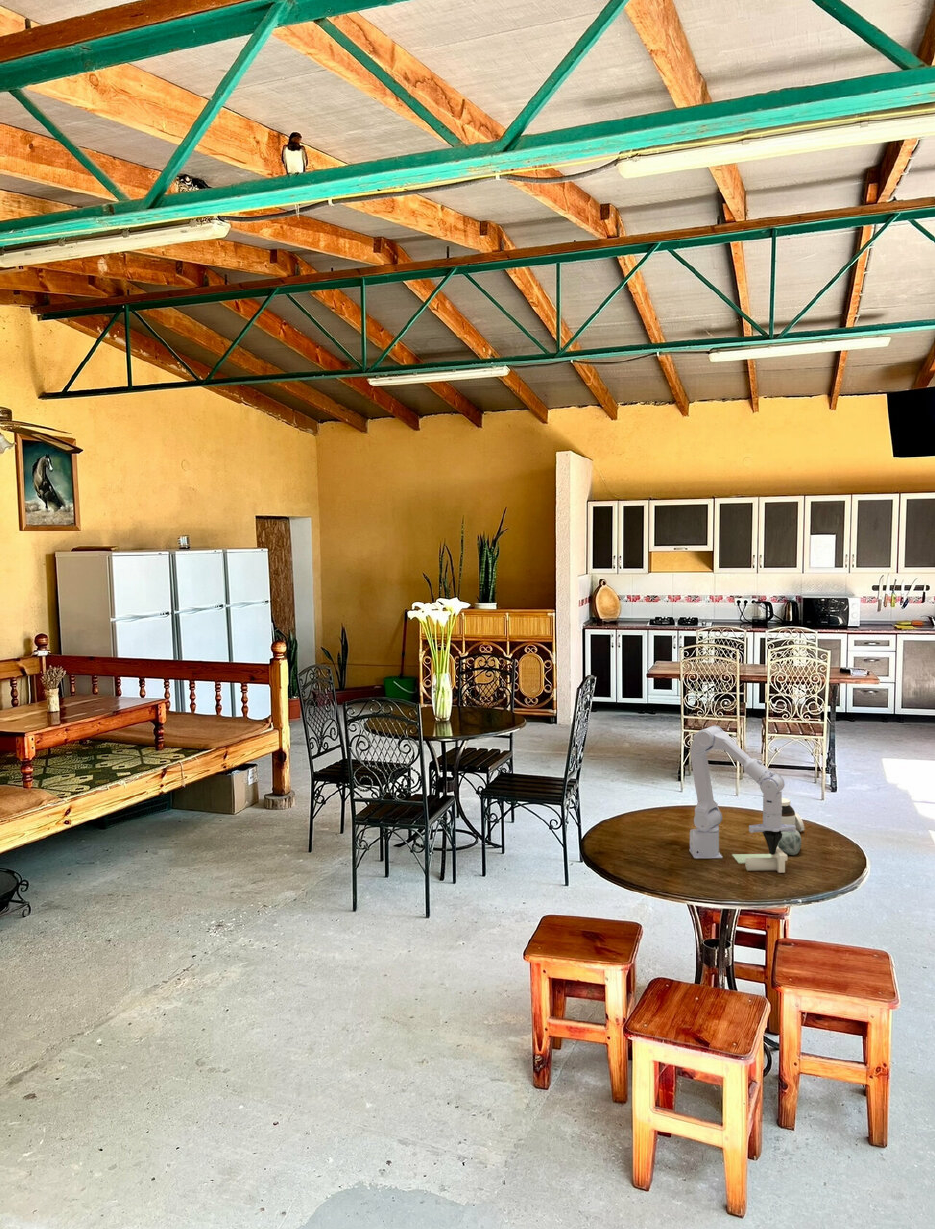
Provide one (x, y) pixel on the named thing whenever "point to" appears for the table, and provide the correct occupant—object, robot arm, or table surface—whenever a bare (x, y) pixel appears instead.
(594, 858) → the table surface
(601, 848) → the table surface
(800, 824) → the spread jar
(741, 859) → the mat
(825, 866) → the table surface
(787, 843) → the mottled grey-green ovoid
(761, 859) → the cylinder
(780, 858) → the cream flat notched block
